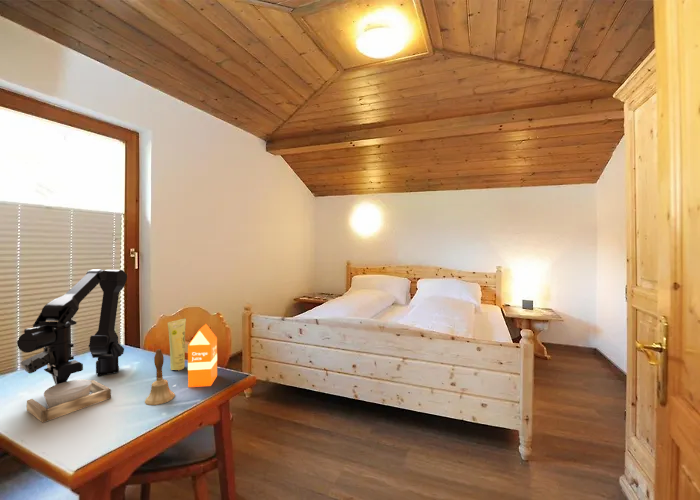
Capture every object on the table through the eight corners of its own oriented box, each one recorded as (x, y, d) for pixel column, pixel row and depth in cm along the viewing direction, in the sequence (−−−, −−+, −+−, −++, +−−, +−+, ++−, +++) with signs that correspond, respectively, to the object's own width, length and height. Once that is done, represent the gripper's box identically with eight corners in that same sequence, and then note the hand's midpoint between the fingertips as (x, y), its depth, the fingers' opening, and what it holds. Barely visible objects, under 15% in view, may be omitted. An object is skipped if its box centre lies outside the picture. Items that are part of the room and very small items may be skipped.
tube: (182, 371, 124) (181, 321, 124) (167, 372, 123) (167, 322, 122) (186, 365, 130) (185, 318, 129) (172, 366, 128) (172, 318, 128)
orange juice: (217, 375, 120) (217, 322, 120) (211, 385, 112) (210, 329, 111) (195, 376, 119) (195, 323, 119) (187, 387, 110) (187, 330, 110)
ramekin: (62, 415, 92) (61, 397, 92) (34, 410, 95) (33, 392, 95) (100, 397, 103) (100, 381, 103) (74, 393, 106) (74, 377, 106)
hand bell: (143, 407, 97) (142, 355, 96) (146, 396, 104) (145, 347, 104) (174, 401, 100) (174, 351, 100) (175, 390, 108) (174, 344, 107)
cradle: (93, 388, 109) (93, 380, 109) (110, 398, 102) (110, 388, 102) (26, 410, 95) (26, 400, 95) (42, 422, 88) (42, 412, 88)
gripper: (14, 343, 100) (15, 392, 100) (35, 354, 90) (36, 408, 91) (60, 334, 110) (60, 379, 110) (83, 344, 100) (84, 393, 100)
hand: (59, 389), depth 103 cm, fingers closed
